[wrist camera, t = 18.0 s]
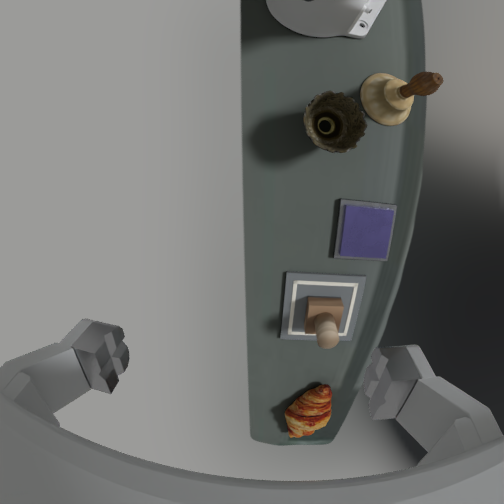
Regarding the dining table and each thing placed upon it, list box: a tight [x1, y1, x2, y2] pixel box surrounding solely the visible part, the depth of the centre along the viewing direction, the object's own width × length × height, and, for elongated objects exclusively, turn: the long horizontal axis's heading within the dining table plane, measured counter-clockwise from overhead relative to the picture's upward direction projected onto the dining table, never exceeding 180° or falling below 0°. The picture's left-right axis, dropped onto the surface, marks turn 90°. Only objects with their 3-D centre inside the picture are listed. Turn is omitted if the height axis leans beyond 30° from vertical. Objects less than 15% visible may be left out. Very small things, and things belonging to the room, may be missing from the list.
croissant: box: [285, 384, 332, 438], centre depth 54 cm, size 21×10×8 cm, turn 167°
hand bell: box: [360, 72, 443, 126], centre depth 26 cm, size 8×8×16 cm
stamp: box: [304, 296, 344, 349], centre depth 42 cm, size 6×6×8 cm
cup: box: [303, 91, 367, 153], centre depth 32 cm, size 8×7×8 cm
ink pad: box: [333, 199, 397, 261], centre depth 40 cm, size 9×9×2 cm
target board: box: [280, 271, 366, 341], centre depth 46 cm, size 13×13×1 cm
